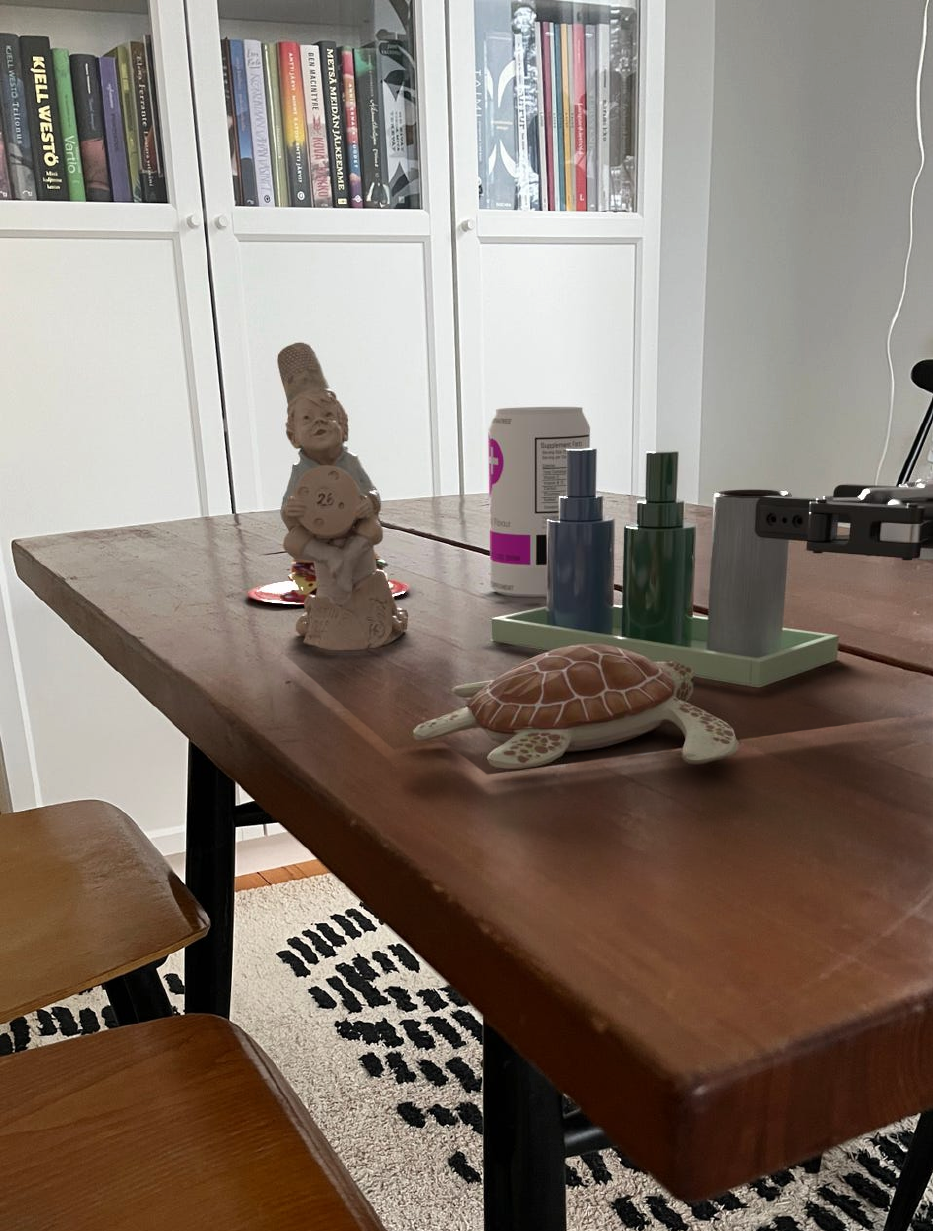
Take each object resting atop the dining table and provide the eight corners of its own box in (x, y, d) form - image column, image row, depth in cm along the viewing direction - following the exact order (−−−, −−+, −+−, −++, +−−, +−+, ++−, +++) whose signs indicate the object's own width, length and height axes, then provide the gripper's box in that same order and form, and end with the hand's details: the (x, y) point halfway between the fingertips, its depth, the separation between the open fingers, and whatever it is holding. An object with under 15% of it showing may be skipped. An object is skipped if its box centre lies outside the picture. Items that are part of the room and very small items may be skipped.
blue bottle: (594, 627, 88) (597, 445, 84) (624, 639, 84) (629, 448, 80) (536, 633, 86) (535, 448, 82) (563, 645, 82) (564, 451, 78)
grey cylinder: (694, 657, 78) (701, 491, 74) (759, 652, 79) (770, 487, 75) (724, 673, 74) (734, 497, 70) (793, 668, 75) (806, 494, 71)
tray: (836, 666, 77) (839, 635, 76) (758, 694, 71) (760, 660, 70) (575, 626, 91) (576, 599, 90) (491, 646, 85) (491, 618, 84)
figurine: (294, 633, 91) (273, 343, 84) (408, 629, 91) (396, 340, 84) (286, 660, 83) (262, 340, 75) (411, 655, 83) (399, 337, 76)
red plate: (240, 586, 111) (234, 519, 109) (391, 577, 115) (388, 511, 113) (256, 613, 99) (250, 537, 97) (425, 601, 102) (423, 528, 100)
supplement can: (483, 603, 101) (480, 410, 96) (499, 586, 108) (497, 407, 103) (582, 604, 100) (584, 408, 94) (591, 587, 107) (593, 405, 102)
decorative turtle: (827, 748, 61) (835, 648, 59) (587, 826, 51) (589, 711, 50) (574, 684, 74) (575, 602, 73) (346, 737, 65) (340, 643, 63)
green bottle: (669, 639, 84) (676, 447, 79) (704, 652, 80) (714, 451, 75) (609, 645, 82) (612, 450, 78) (642, 659, 78) (647, 454, 74)
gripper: (1152, 440, 64) (863, 435, 75) (1047, 457, 54) (733, 448, 65) (1128, 585, 66) (852, 560, 77) (1024, 625, 57) (726, 590, 68)
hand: (798, 509), depth 71 cm, fingers open, 8 cm apart
